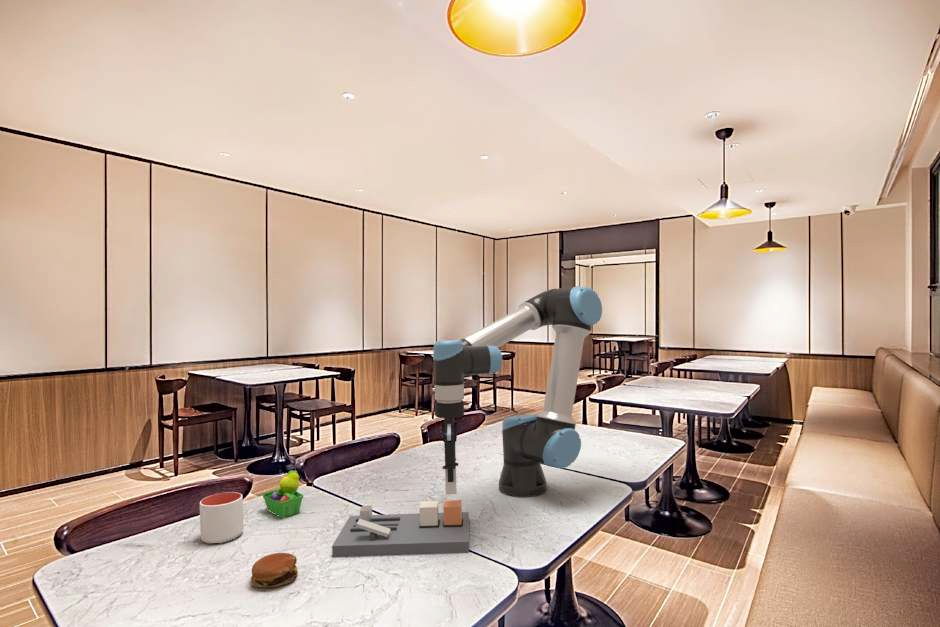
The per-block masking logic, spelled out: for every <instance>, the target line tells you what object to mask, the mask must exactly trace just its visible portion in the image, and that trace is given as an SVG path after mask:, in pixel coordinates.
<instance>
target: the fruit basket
mask: <svg viewBox="0 0 940 627" xmlns="http://www.w3.org/2000/svg"><path fill="white" fill-rule="evenodd" d="M299 481H300V475H299V474H298V471H297V470H293V469H292V470H289V471H288V473H287V474H286V475H285V476H284V477H283V478H282V479H281V480H280V481H279V483H278V484H279V488H276V489H275V490H273V491H269V492H265V493H263V494H262V498H263V499H264V503H265V505H266V509H267V511H268V510H270V511H271V512H270V513H272V512H273V513H275V514H276V515H275V514H274V515H275V516H277V515H279V516H280V517H279V516H278V517H279V518H281V517H282V518H281V519H285V518H287V517H286V516H288V517H291V516H294V515H296V514H295V513H297V514H299V513H300V509H301V505H302V501H303V498H304V494H303V493H300V492H298V489H299V486H300V482H299ZM273 513H272V514H273ZM293 514H294V515H293ZM290 515H291V516H290ZM284 517H285V518H284Z"/></svg>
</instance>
